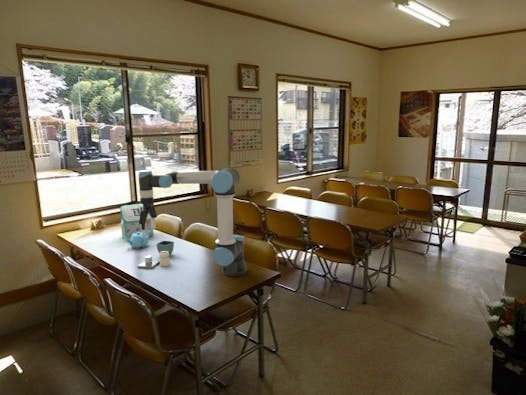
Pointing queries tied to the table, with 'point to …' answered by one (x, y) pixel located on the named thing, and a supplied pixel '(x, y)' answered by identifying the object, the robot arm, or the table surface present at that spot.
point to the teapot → (138, 240)
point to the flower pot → (165, 246)
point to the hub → (148, 263)
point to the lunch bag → (133, 220)
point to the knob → (164, 258)
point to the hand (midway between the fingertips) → (149, 231)
